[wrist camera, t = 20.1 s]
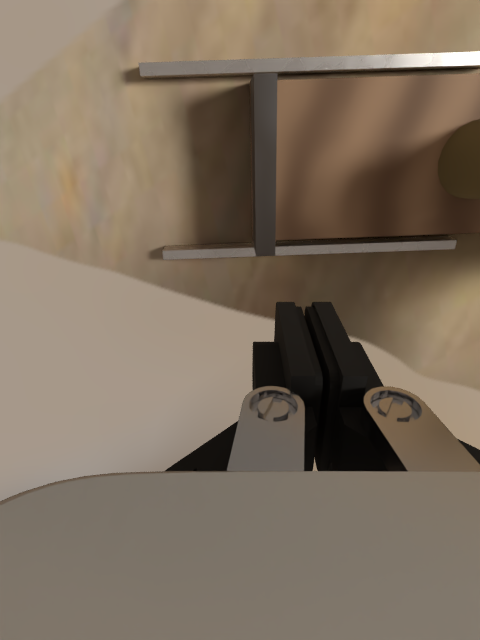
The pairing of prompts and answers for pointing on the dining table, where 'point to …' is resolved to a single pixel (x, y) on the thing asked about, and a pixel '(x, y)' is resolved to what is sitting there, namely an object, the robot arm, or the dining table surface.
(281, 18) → the dining table surface
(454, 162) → the cork
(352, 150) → the brown tray
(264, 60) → the rails
